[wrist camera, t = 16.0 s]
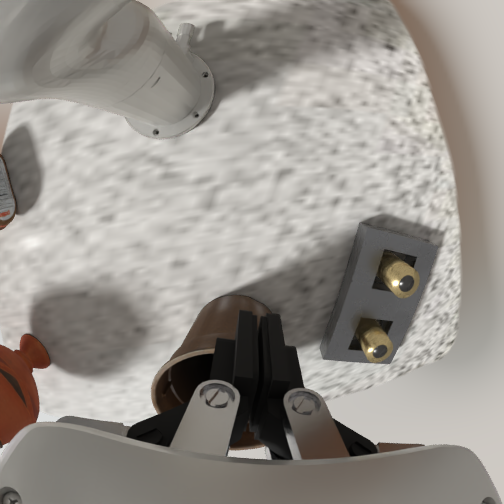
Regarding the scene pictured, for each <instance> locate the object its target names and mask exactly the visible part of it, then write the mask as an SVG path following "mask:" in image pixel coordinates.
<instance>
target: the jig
mask: <svg viewBox="0 0 504 504" xmlns="http://www.w3.org/2000/svg"><path fill="white" fill-rule="evenodd" d="M384 249H387V250H391V251H395V252H399V253H403V254H406V257H405V260H404V262H405V263H407V264H408V265H409V266H411V267H412V268H414V269H415V270H416V271H417V272H418V274H419V277H420V282H419V286H418V288H417V290H416V291H415V293H414V294H412V295H411V296H410V297H407V298H399V297H397V296H396V295H395V294H394V293H393V292H392V291H391V290H390V289H389V288H388V287H387V286H386V285H385V284H383V283H377V282H374V280H375V277H376V274H377V271H378V267H379V264H380V261H381V258H382V255H383V251H384ZM437 249H438V246H437V245H435V244H433V243H431V242H429V241H427V240H423V239H420V238H416V237H413V236H409V235H406V234H402V233H398V232H395V231H391V230H387V229H383V228H380V227H376V226H372V225H368V224H364V223H359V227H358V230H357V234H356V238H355V241H354V245H353V249H352V252H351V256H350V259H349V262H348V266H347V269H346V272H345V276H344V279H343V282H342V285H341V288H340V291H339V294H338V297H337V300H336V303H335V306H334V309H333V312H332V315H331V318H330V321H329V324H328V326H327V329H326V332H325V335H324V337H323V340H322V343H321V345H320V351H321V354H322V357H323V359H324V360H335V361H347V362H361V363H379V364H390V363H391V361H392V360H393V358H394V356H395V354H396V352H397V350H398V348H399V345H400V343H401V341H402V339H403V337H404V335H405V333H406V331H407V328H408V326H409V324H410V322H411V319H412V317H413V315H414V312H415V310H416V307H417V305H418V303H419V300H420V298H421V295H422V292H423V290H424V287H425V284H426V282H427V279H428V276H429V273H430V270H431V267H432V265H433V261H434V258H435V255H436V252H437ZM376 319H379V320H382V323H381V325H380V324H379V323H378V321H377V320H376ZM354 334H355V336H356V338H357V340H352V338H353V336H354Z"/></svg>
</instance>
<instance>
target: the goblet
mask: <svg viewBox="0 0 504 504" xmlns="http://www.w3.org/2000/svg"><path fill="white" fill-rule="evenodd" d="M49 365H50V359H49V356H48V354H47V352H46V350H45V348H44V346H43V345H42V344H41V343H40V342H39V341H38V340H37V339H36V338H34V337H32V336H31V335H28V334H26V335H23V336H22V337H21V340H20V350H15V351H12V350H11V349H9V348H7V347H5V346H2V345H0V448H2V447H3V445H4V444H6V443H9V442H10V441H11V440H12V439H13V438H14V436H15V435H16V434H17V433H18V432H19V431H20V430H22V429H23V428H24V427H26V426H28V425H29V424H33V423H36V421H37V418H38V414H39V396H38V390H37V387H36V383H35V380H34V378H33V376H32V372H33V368H38V369H44V368H47V367H48V366H49Z"/></svg>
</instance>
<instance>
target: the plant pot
mask: <svg viewBox="0 0 504 504" xmlns="http://www.w3.org/2000/svg"><path fill="white" fill-rule="evenodd" d="M239 309H240V310H248V311H252V312H253V315H257V325H258V326H259V321H260V317H261V316H265V315H266V313H271V311H270V310H269V309H268V308H267V307H266V306H265V305H264V304H262V303H259V302H257V301H255V300H253V299H252V298H250V297H247V296H241V295H230V296H224V297H220V298H217V299H215V300H213V301H211V302H210V303H208V304H207V305H206V306H205V307H204V308H203V309H202V310H201V312H200V313H199V314H198V316H197V318H196V320H195V322H194V324H193V326H192V327H191V329H190V331H189V333H188V335H187V336H186V338H185V340H184V342H183V343H182V345H181V347H180V348H179V349H178V350H177V351H176V352H175V353H174V354H173V355H172V357H171V359H170V360H169V361H168V362H167V363H166V364H164V365H163V366H162V367H161V369H160V370H159V371H158V373H157V374H156V376H155V378H154V380H153V382H152V387H151V399H152V403H153V406H154V408H155V410H156V412H157V413H158V414H160V413H163V412H165V411H168V410H170V409H172V408H174V407H177V406H179V405H181V404H183V403H186V402H188V401H190V400H191V398H192V396H193V394H194V392H195V389H196V388H197V387H198V385H200V384H201V383H203V382H205V381H208V380H209V379H210V373H211V367H212V362H213V356H214V350H215V345H216V339H217V337H219V338H226V339H233V340H234V339H235V333H236V326H237V320H238V314H239ZM271 314H272V313H271ZM304 388H305V387H304ZM264 446H265V445H264V444H263V443H261V442H260V441H259V440H254V432H250V431H249V420H248V424H247V427H246V431H243V433H242V437H241V439H240V440H238V441H237V442H235V443H234V444H232V445H231V446H230V448H229V450H247V449H255V448H261V447H264Z"/></svg>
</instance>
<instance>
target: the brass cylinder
mask: <svg viewBox="0 0 504 504" xmlns="http://www.w3.org/2000/svg"><path fill="white" fill-rule="evenodd" d="M376 276H377V277H378V278H379V279H380V280H381V281H382V282H383V283H384V284H385V285H386V286H387V287H388V288H389V289H390V290H391V291H392V292H393V293H394V294H395V295H396V296H397V297H399V298H407V297H410V296H411V295H412V294H414V293H415V291H416V290H417V288H418V286H419V282H420V277H419V274H418V272H417V271H416V270H415V269H414V268H412V267H411V266H409V265H408V264H407V263H405V262H404V261H403V260H401V259H400V258H399V257H397V256H396V255H394V254H393V253H392V252H389V251H384V252H383V255H382V258H381V261H380V264H379V267H378V271H377V274H376Z"/></svg>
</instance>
